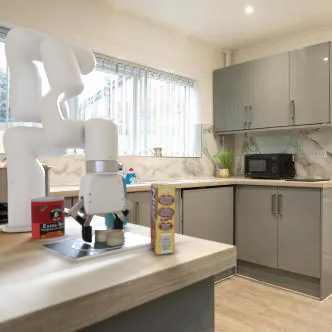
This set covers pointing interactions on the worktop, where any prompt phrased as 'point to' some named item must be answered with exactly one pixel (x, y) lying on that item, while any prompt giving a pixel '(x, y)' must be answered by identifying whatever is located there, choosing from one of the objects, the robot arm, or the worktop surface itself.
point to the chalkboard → (93, 246)
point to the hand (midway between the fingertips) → (103, 238)
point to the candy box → (162, 218)
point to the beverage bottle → (109, 216)
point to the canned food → (47, 217)
